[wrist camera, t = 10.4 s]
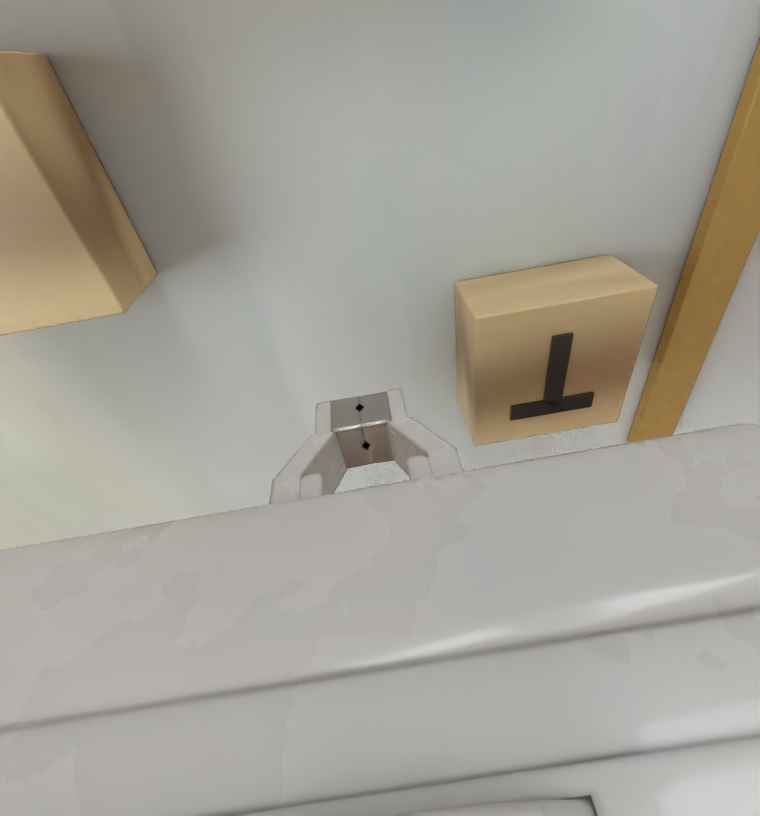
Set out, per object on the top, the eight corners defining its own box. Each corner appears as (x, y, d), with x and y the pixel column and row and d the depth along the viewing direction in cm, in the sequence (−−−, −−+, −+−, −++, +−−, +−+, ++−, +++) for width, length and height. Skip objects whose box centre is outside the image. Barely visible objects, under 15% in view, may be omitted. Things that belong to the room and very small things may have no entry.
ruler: (878, -327, 8) (910, -351, 8) (979, -349, 8) (1017, -374, 8) (626, 440, 22) (632, 448, 22) (663, 433, 22) (670, 441, 22)
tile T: (453, 281, 16) (476, 319, 13) (611, 252, 16) (662, 286, 13) (457, 402, 20) (475, 448, 17) (583, 380, 19) (619, 424, 17)
